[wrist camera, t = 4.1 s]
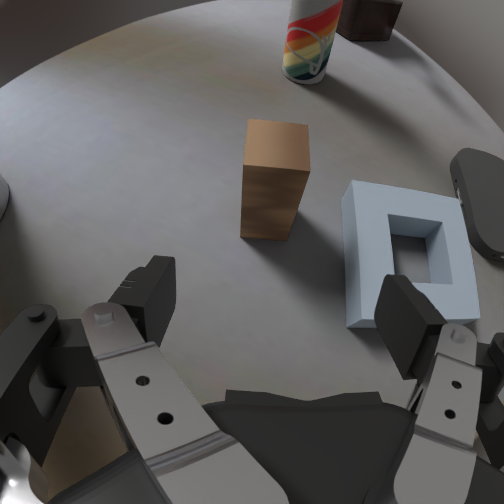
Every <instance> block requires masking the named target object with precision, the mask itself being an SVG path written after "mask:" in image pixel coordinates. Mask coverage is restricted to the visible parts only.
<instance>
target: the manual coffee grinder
mask: <svg viewBox="0 0 504 504" xmlns="http://www.w3.org/2000/svg"><path fill="white" fill-rule="evenodd" d="M401 7H402V2H401V1H400V0H343V4H342V8H341V12H340V16H339V20H338V24H337V28H336V32H338V33H339V34H340V35H342V36H344V37H345V38H347V39H349V40H351V41H386V40H389V39H390V35H391V33H392V30H393V27H394V25H395V22H396V20H397V17H398V14H399V12H400V9H401Z"/></svg>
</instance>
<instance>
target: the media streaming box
mask: <svg viewBox="0 0 504 504" xmlns="http://www.w3.org/2000/svg"><path fill="white" fill-rule="evenodd" d="M450 172H451V176H452V180H453V185H454V189H455V193H456V194H457V195H456V197H457V199H459V202H460V206H461V209H462V213H463V218H464V222H465V226H466V230H467V235H468V240H469V241H470V243H471V244H472V246H473V247H474V248H475V250H476V251H477V252H478V253H480V254H481V255H482V256H484V257H485V258H488V259H492V260H497V261H501V262H504V260H503V259H504V160H502V159H500V158H498V157H496V156H494V155H492V154H489V153H486V152H483V151H480V150H476V149H471V148H464V149H462V150H460V151H459V152H458V153H457V155H456V156H455V157H454V158H453V160H452V161H451V163H450Z"/></svg>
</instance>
